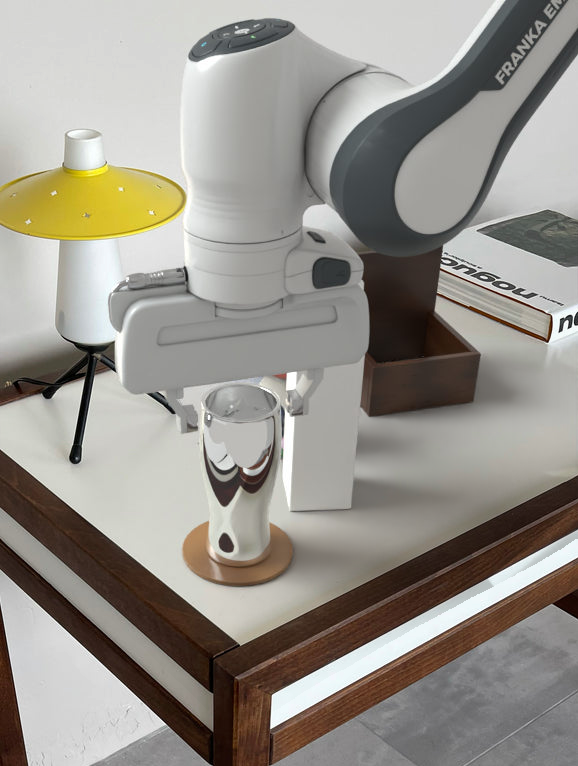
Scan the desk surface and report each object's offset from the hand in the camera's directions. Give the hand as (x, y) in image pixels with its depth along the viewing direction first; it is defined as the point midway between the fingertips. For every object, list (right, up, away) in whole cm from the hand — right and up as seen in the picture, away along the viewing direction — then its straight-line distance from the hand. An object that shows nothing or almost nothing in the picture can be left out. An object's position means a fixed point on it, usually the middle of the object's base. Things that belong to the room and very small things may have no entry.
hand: (242, 421), depth 84 cm
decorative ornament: (+5, 0, +23) cm, 24 cm away
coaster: (0, -11, +8) cm, 14 cm away
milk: (+8, -6, +16) cm, 18 cm away
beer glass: (0, -11, +8) cm, 13 cm away
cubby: (+20, +7, +34) cm, 40 cm away
